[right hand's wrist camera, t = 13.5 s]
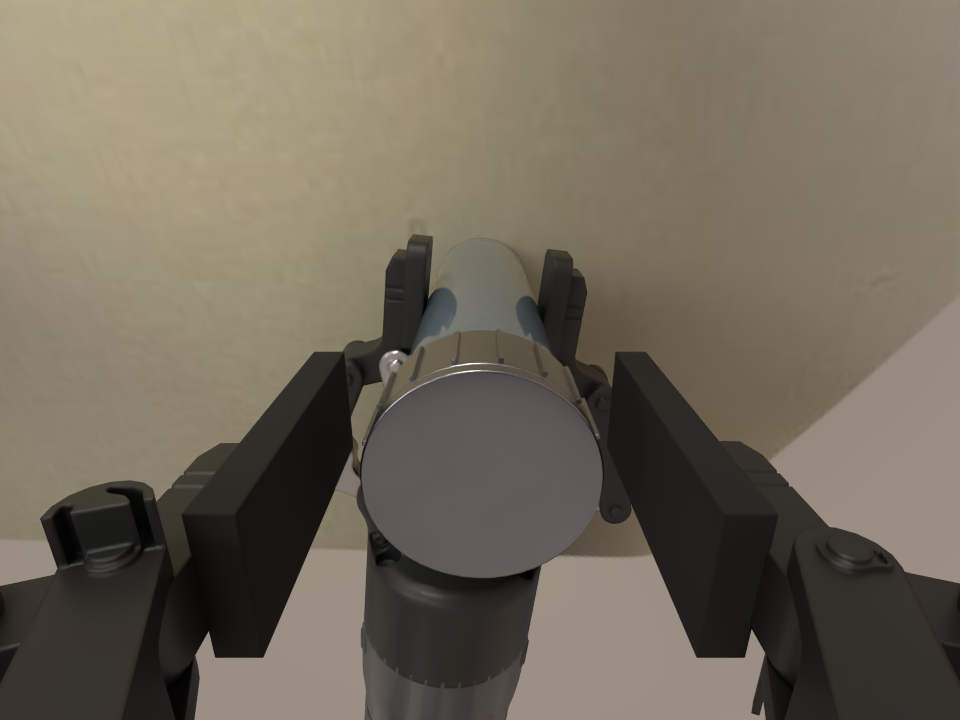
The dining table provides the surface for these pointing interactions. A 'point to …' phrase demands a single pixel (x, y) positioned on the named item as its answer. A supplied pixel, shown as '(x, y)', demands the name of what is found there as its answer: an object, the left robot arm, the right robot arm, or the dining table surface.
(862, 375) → the dining table surface
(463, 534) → the lid
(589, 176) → the dining table surface
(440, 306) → the blue thermos bottle
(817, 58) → the dining table surface
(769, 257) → the dining table surface
